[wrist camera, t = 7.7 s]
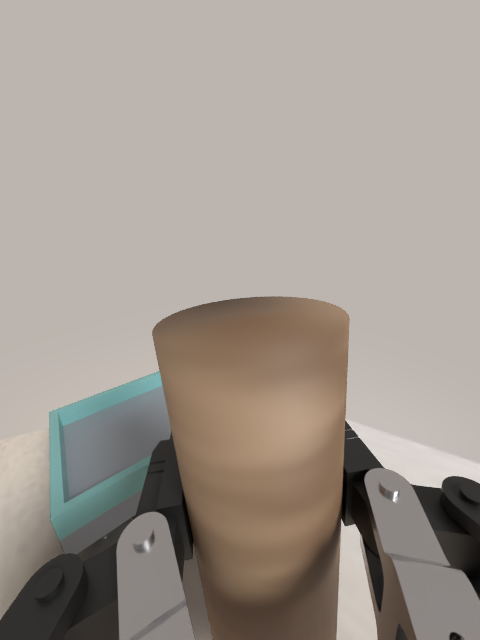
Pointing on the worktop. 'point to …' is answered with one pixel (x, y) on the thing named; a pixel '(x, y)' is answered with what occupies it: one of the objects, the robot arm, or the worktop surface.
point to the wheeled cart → (103, 462)
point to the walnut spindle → (261, 458)
